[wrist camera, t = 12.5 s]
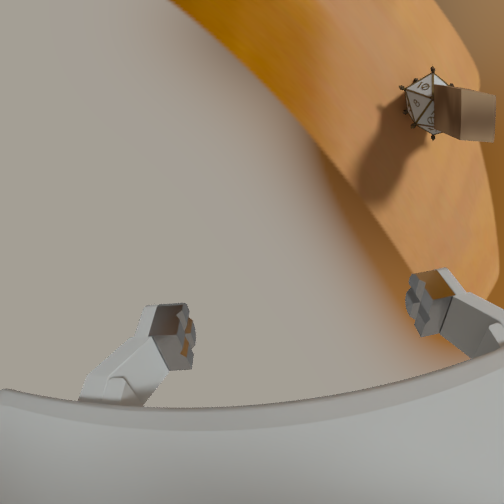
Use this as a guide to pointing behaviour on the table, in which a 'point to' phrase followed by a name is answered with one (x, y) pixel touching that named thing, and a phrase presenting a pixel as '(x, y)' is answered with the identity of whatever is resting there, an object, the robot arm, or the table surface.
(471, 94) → the walnut cube
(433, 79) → the game die
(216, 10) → the table surface
